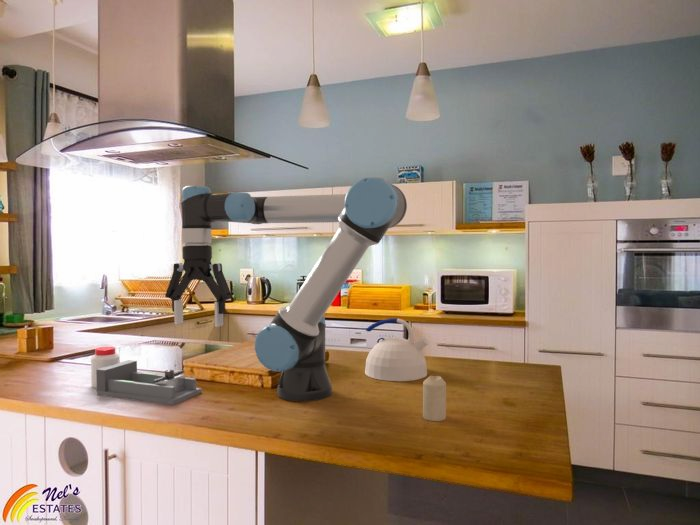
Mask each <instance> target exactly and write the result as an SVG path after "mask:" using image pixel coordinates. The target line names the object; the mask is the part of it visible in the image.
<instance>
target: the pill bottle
mask: <svg viewBox="0 0 700 525" xmlns="http://www.w3.org/2000/svg"><path fill="white" fill-rule="evenodd" d="M94 351H95V352H94V354H93V356H91V358H90V363H91V364H90V365H91V366H90V368H91V372H90V374H91V375H90V376H91V387H92V388H95V389H97V374H96V369H100V368H103V367H107V366H110V365H114V364H117V363H121V359H120V358H121V357H120V355H119V354H118V353H117V352H116V347H115V346H102V347H96V348H95V349H94Z"/></svg>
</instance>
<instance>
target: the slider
mask: <svg viewBox="0 0 700 525" xmlns="http://www.w3.org/2000/svg"><path fill="white" fill-rule="evenodd" d="M184 373H185V370H184V369H183V370H182V369H181V370H179V371H175V370H174V369H166V370H164V375H165V376H164V377H161V378H158V379H156V380H154V383H155V384H157V385H166V386H174V387H175V392H178V391H180V390H183V389H184V377H185V376H184Z"/></svg>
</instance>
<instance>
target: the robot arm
mask: <svg viewBox="0 0 700 525" xmlns="http://www.w3.org/2000/svg"><path fill="white" fill-rule="evenodd" d="M403 192H404V191H402V190H401V189H400V188H399V187H398V186H397V185H395V184H392V183H390V181H387V180H386V179H383V178H380V177H375V176H373V177H365V178H362V179H359V180H357V181H356V182H355V183H353V184H352V185H351V187H350V188H349V189H348V190H347V193H343V194H341V193H339V194H335V193H334V194H310V195H280V196H279V195H278V196H273V195H272V196H252V195H251V194H250V193H249V192H240V191H234V192H225V193H224V192H222V193H221V192H220V193H212V191H211V189H210V187H209V186H203V185H186V186H184V187H183V188H182V190H181V202H180V206H181V219H182V220H181V221H182V225H181V226H182V227H181V242H182V244H184V245H183V246H182V259H183V263H182V262H176V263H173V271H172V275H171V276H170V277H171V278H170V280H169V283H168V286H167V289H166V292H165V296H164V297H165V298H168V299H171V307H172V310H171V311H172V312H173V314H174V316H173V317H174V325H176V326H177V325H182V324H184V300H183V298H182V296H183V294H184V293H185V291H186V290H187V289H188V287H189V285H190V284H191V282H192V281H195V280H197V281H202V282H203V283H204V284H206V286H207V287H208V289H209V291H211V293H212V295H213V297H214V298H215V299H216V300H215V301H214V302H213V303H214V327H215V328H219V327H222V326H224V314H226V301H228V300H230V299H232V298H233V295H232V292H231V290H230V288H229V285H228V282H227V280H226V277H225V275H224V273H223V272H224V271H223V265H222V263H220V262H218V263H213V264H212V258H213V248H212V246H211V245H210V244H212V242H213V241H212V223H239V224H241V223H242V224H252V225H263V224H291V223H292V224H300V223H301V224H302V223H304V224H307V223H309V224H310V223H311V224H313V223H317V224H318V223H338V228H337V229H336V232H335V233H334V235H333V237H331V240H330V241H329V242H328V244H327V246H326V247H325V249H324V250H323V252H322V254H321V255H320V257H319V258H318V259H317V261H316V263H315V264H314V266H313V268H312V269H311V270H310V272H309V274H308V275H307V277H306V279H305V280H304V282H303V283H302V285H301V286H300V288H299V289H298V291H297V293H295V295H294V297H293V299H292V300H291V302H290V304H289V305H288V306H287V305H285V306H282V307H280V308H279V309H278V311H277V313H276V315H274V317H273V319H272V321H271V322H270V323H269V325H266V326H264V327H263V328H262V329H261V330H260V331H258V333H257V334H256V336H255V339H254V351H255V355H256V358H257V359H258V361H259V363H260V364H261V365H262V366H264V367H265V368H266V369H268V370H270V371H272V372H281V374H280V378H279V381H278V385H277V388H276V391H277V396H278V397H279V398H280V399H282V400H286V401H290V402H291V401H292V402H313V401H319V400H323V399H327V398H328V397H330V396H331V395H332V393H333V392H332V389H333V388H332V382H331V379H330V377H329V373H328V370H327V367H326V327H327V325H326V320H325V319H326V317H325V314H326V313H327V311H328V309H329V308H330V307H331V305H332V304H333V302H334V301H335V299H336V298H337V296H338V295H339V293H340V291H341V290H342V289H343V286H344V285H345V284H346V282H347V280H348V279H349V278H350V276H351V274H352V273H353V271H354V270H355V268H356V267H357V265H358V264H359V262H360V261H361V259H362V258H363V256H364V255H365V253H366V251H367V250H368V248H369V247H371V246H376V245H379V243H380V242H381V240H382V239H383V237H384V236H385V234H386V233H387V232H388V230H389V229H391V228H394V227H395V226H398V225H399V224H400V223H401V222H402V221H403V220H404V218H405V216H406V213H407V208H408V205H407V204H408V203H407V199H406V196H405V194H404V193H403ZM212 273H213V274H212Z"/></svg>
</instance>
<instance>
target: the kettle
mask: <svg viewBox="0 0 700 525" xmlns="http://www.w3.org/2000/svg"><path fill="white" fill-rule="evenodd" d="M389 323H399V324H401V325H403V326H404V327H405V328H406V329H407V331H408V338H407V339H406V338H404V337H396V336H394V337H388V338H384V337H380V338H378V339H377V342H376V343H377V344H375V345H374V346H373V347H372V348H371V350H370V351H369V352H368V355H367V357H366V359H365V370H364V373H365V375H366V376H368V377H369V378H371V379H375V380H379V381H385V382H410V381H413V382H414V381H417V380H421V379H423V378H425V377H427V376H428V370H427V369H428V368H427V360H426V357H425V355H424V353H423V352H422V350H423V349H424V348H425V347H427V346H428V345H429V341H428V340H427V339H426V337H424V336H420V337H419V338H418V339H417V340H416V341H414V340H415V333H414V329H413V326H411V325H410V323H408V322H407V320H405V319H401V318H388V319H386V318H385V319H382V320H379V321H376V322H374V323H373V324H371V325H369V326H368V327H367V328H366V329H365V331H366V332H371V331H372V330H374V329H375V328H377V327H379V326H382V325H385V324H389Z"/></svg>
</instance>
